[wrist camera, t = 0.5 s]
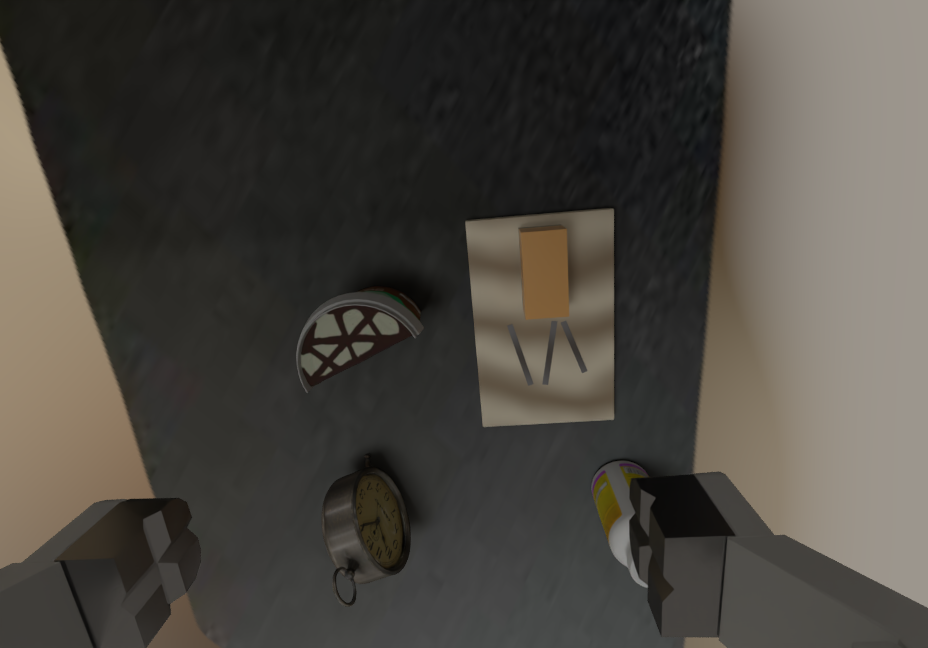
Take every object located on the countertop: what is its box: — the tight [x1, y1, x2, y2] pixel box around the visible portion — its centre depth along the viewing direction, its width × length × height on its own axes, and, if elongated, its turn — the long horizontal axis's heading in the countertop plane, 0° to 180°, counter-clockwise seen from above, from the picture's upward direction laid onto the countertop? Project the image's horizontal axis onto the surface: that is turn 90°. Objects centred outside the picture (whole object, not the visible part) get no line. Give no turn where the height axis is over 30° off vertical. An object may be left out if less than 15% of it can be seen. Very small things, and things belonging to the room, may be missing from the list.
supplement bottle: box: [591, 461, 649, 588], centre depth 50 cm, size 7×7×13 cm
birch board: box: [465, 208, 614, 427], centre depth 51 cm, size 22×14×2 cm, turn 5°
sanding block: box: [518, 224, 569, 320], centre depth 46 cm, size 8×4×4 cm, turn 5°
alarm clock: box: [322, 454, 411, 607], centre depth 51 cm, size 11×5×16 cm, turn 26°
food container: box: [296, 286, 424, 393], centre depth 47 cm, size 12×6×10 cm, turn 119°
